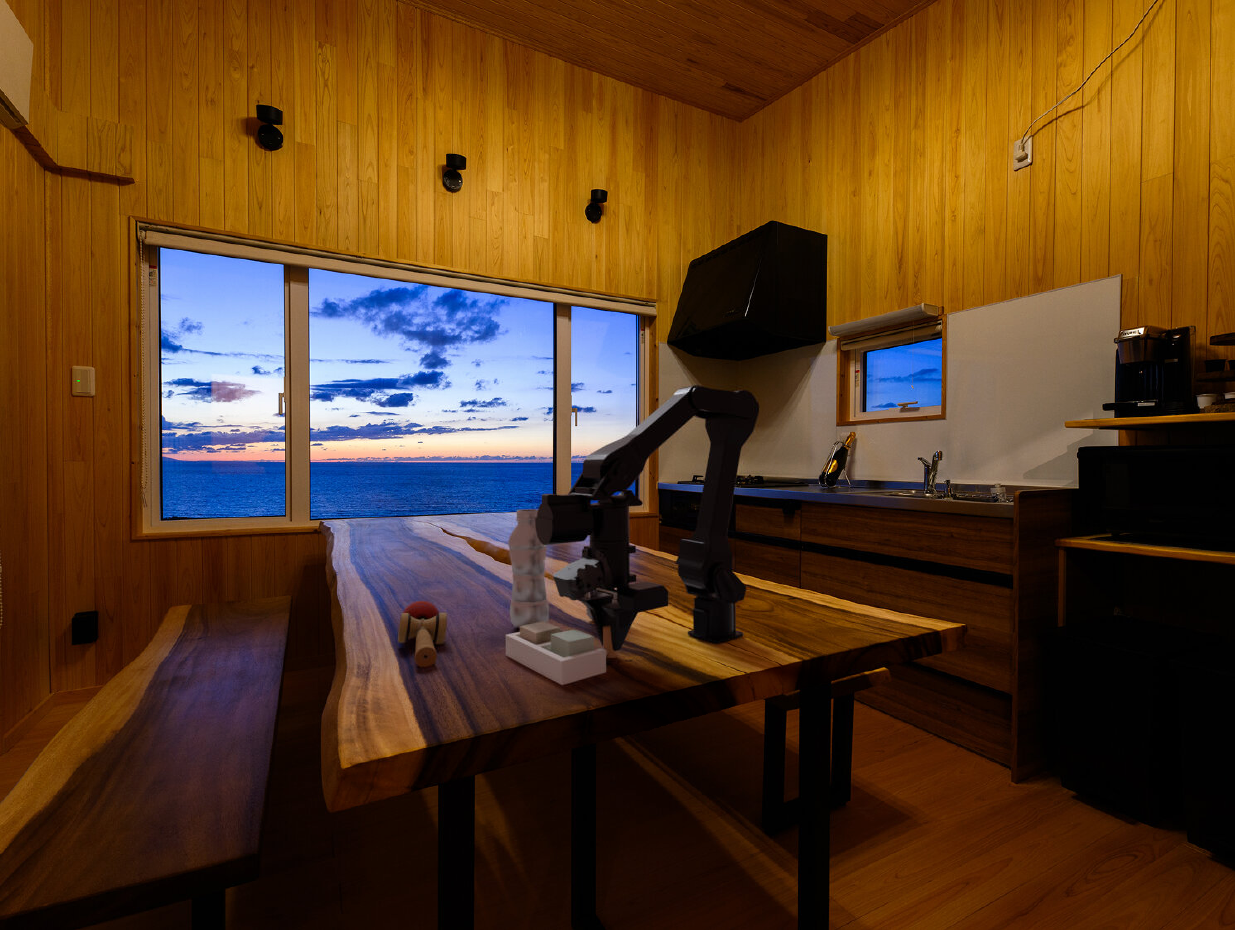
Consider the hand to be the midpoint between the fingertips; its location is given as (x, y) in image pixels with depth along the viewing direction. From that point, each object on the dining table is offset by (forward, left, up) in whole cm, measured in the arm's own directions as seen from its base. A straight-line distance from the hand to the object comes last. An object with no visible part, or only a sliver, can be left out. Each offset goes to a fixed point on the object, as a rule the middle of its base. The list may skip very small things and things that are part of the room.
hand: (611, 648), depth 84 cm
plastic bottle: (+1, -22, -2) cm, 22 cm away
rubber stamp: (+4, 0, -1) cm, 4 cm away
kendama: (+19, -22, -2) cm, 29 cm away
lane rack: (+8, -4, -1) cm, 8 cm away
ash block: (+8, -7, -2) cm, 10 cm away
